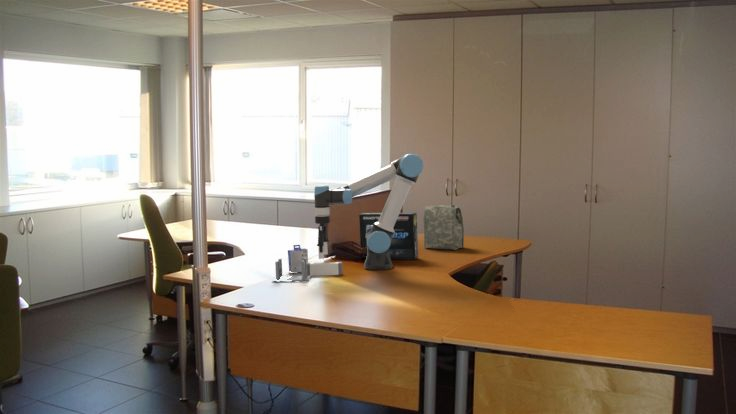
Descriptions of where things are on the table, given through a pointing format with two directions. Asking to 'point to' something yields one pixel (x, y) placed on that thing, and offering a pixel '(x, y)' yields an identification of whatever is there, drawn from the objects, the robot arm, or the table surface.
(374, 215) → the box
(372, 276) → the table surface
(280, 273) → the bracket
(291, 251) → the ink cartridge box
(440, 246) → the bag
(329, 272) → the strip bar
